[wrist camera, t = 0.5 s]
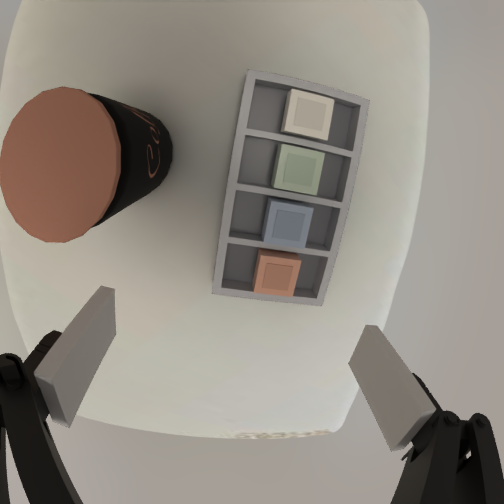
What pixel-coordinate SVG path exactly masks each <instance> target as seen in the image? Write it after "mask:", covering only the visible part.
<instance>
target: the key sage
mask: <svg viewBox="0 0 504 504" xmlns="http://www.w3.org/2000/svg"><path fill="white" fill-rule="evenodd" d="M324 156H325V153H322V152H318V151H313V150H309V149H305V148H300V147H295V146H290V145H285V144H278V149H277V154H276V159H275V165H274V170H273V176H272V181H271V185H272V186H273V187H274V188H278V189H284V190H289V191H295V192H300V193H305V194H311V195H317V191H318V186H319V181H320V176H321V171H322V166H323V161H324Z"/></svg>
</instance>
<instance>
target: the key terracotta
mask: <svg viewBox="0 0 504 504" xmlns="http://www.w3.org/2000/svg"><path fill="white" fill-rule="evenodd" d="M300 265H301V259H300V257H299V256H298V254H297V253H292V252H284V251H277V250H270V249H263V248H259V251H258V256H257V261H256V267H255V272H254V277H253V282H252V285H253V292H254V293H260V294H269V295H278V296H287V297H293V293H294V289H295V285H296V281H297V277H298V273H299V269H300Z"/></svg>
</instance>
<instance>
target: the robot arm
mask: <svg viewBox="0 0 504 504" xmlns="http://www.w3.org/2000/svg"><path fill="white" fill-rule="evenodd" d="M115 335H116V322H115V289H113V288H108V287H104V286H100V288H99V289H98V290H97V291H96V292H95V293H94V295H93V296H92V297H91V298H90V299H89V301H88V302H87V303H86V304H85V305H84V307H83V308H82V309H81V310H80V312H79V313H78V314H77V315H76V316H75V318H74V319H73V320H72V322H71V323H70V324H69V325H68V327H67V328H66V329H65V330H64V332H63V333H61V332H58V331H55V330H54V331H52V332H50V333H48V334H47V335H45V336H44V337H43V339H42V340H41V341H40V342H39V344H38V345H37V346H36V347H35V349H34V350H33V351H32V352H31V354H30V355H29V356H28V358H27V359H26V360H25V362H24V363H23V362H22V360H21V358H20V357H18V356H17V355H15V354H12V353H5V354H1V355H0V504H10V499H9V491H8V482H7V469H6V436H5V435H6V431H7V435H8V439H9V443H10V447H11V451H12V454H13V458H14V461H15V464H16V467H17V471H18V474H19V477H20V479H21V482H22V485H23V488H24V490H25V493H26V495H27V498H28V500H29V503H30V504H83V502H82V500H81V499H80V497H79V495H78V493H77V491H76V489H75V487H74V486H73V484H72V482H71V480H70V477H69V475H68V473H67V471H66V469H65V467H64V465H63V462H62V460H61V458H60V455H59V453H58V451H57V448H56V446H55V443H54V441H53V438H52V435H51V433H50V430H49V427H48V424H47V422H46V418H47V416H48V414H50V415H51V418H52V420H53V422H55V423H58V424H60V425H63V426H65V427H68V428H70V426H71V424H72V421H73V419H74V417H75V415H76V413H77V410H78V408H79V406H80V404H81V402H82V400H83V398H84V396H85V393H86V391H87V389H88V387H89V385H90V383H91V381H92V379H93V377H94V375H95V373H96V371H97V369H98V367H99V365H100V363H101V361H102V359H103V358H104V356H105V354H106V352H107V350H108V348H109V346H110V344H111V342H112V341H113V339H114V337H115ZM348 364H349V366H350V368H351V370H352V372H353V374H354V376H355V378H356V380H357V382H358V384H359V386H360V388H361V389H362V392H363V394H364V396H365V398H366V400H367V402H368V404H369V406H370V408H371V410H372V412H373V414H374V416H375V418H376V421H377V423H378V425H379V427H380V429H381V431H382V433H383V435H384V437H385V439H386V442H387V444H388V446H389V448H390V450H391V452H392V451H396V450H401V449H404V448H405V447H406V446H407V444H409V442H410V441H411V442H412V443H413V445H414V446H413V447H412V448H411V449H410V450H409V451H408V452H407V453H406V454H405V455H404V456H403V458H402V460H404V459H405V458H406V457H408V458H407V461H406V464H405V467H404V470H403V473H402V476H401V478H400V481H399V484H398V486H397V489H396V491H395V494H394V497H393V499H392V501H391V504H504V479H503V473H502V468H501V463H500V458H499V454H498V450H497V446H496V442H495V438H494V434H493V431H492V427H491V424H490V421H489V420H488V418H487V417H486V416H484V415H483V414H480V413H475V414H474V415H472V417H471V418H470V419H469V420H468V421H467V420H466V421H465V420H460V419H459V417H458V416H457V415H456V414H454V413H453V412H451V411H443V410H442V409H441V407H440V406H439V404H438V403H437V401H436V400H435V399H434V397H433V396H432V394H431V393H429V390H428V388H427V387H425V384H424V383H423V382H422V380H421V379H420V378H419V377H418V376H417V375H415V374H414V373H411V371H410V370H409V369H408V367H407V366H406V365H405V363H404V362H403V360H402V359H401V357H400V356H399V355H398V353H397V352H396V351H395V349H394V348H393V346H392V345H391V344H390V342H389V341H388V340H387V338H386V337H385V336H384V334H383V333H382V332H381V330H380V329H379V328H378V326H375V325H366V326H365V328H364V330H363V333H362V335H361V337H360V339H359V342H358V344H357V346H356V348H355V350H354V353H353V355H352V357H351V359H350V361H349V363H348ZM470 450H471V456H470V457H469V458H468V459H467V458H466V454H468V452H469V451H470Z"/></svg>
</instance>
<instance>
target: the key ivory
mask: <svg viewBox="0 0 504 504" xmlns="http://www.w3.org/2000/svg"><path fill="white" fill-rule="evenodd" d="M333 106H334V99H331V98H327V97H324V96H320V95H316V94H312V93H308V92H304V91H300V90H296V89H291V90H290V91H289V92H288V93H287V99H286V105H285V110H284V116H283V121H282V127H281V132H284V133H289V134H294V135H298V136H303V137H307V138H311V139H316V140H320V141H326V140H328V135H329V129H330V124H331V118H332V112H333Z"/></svg>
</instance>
